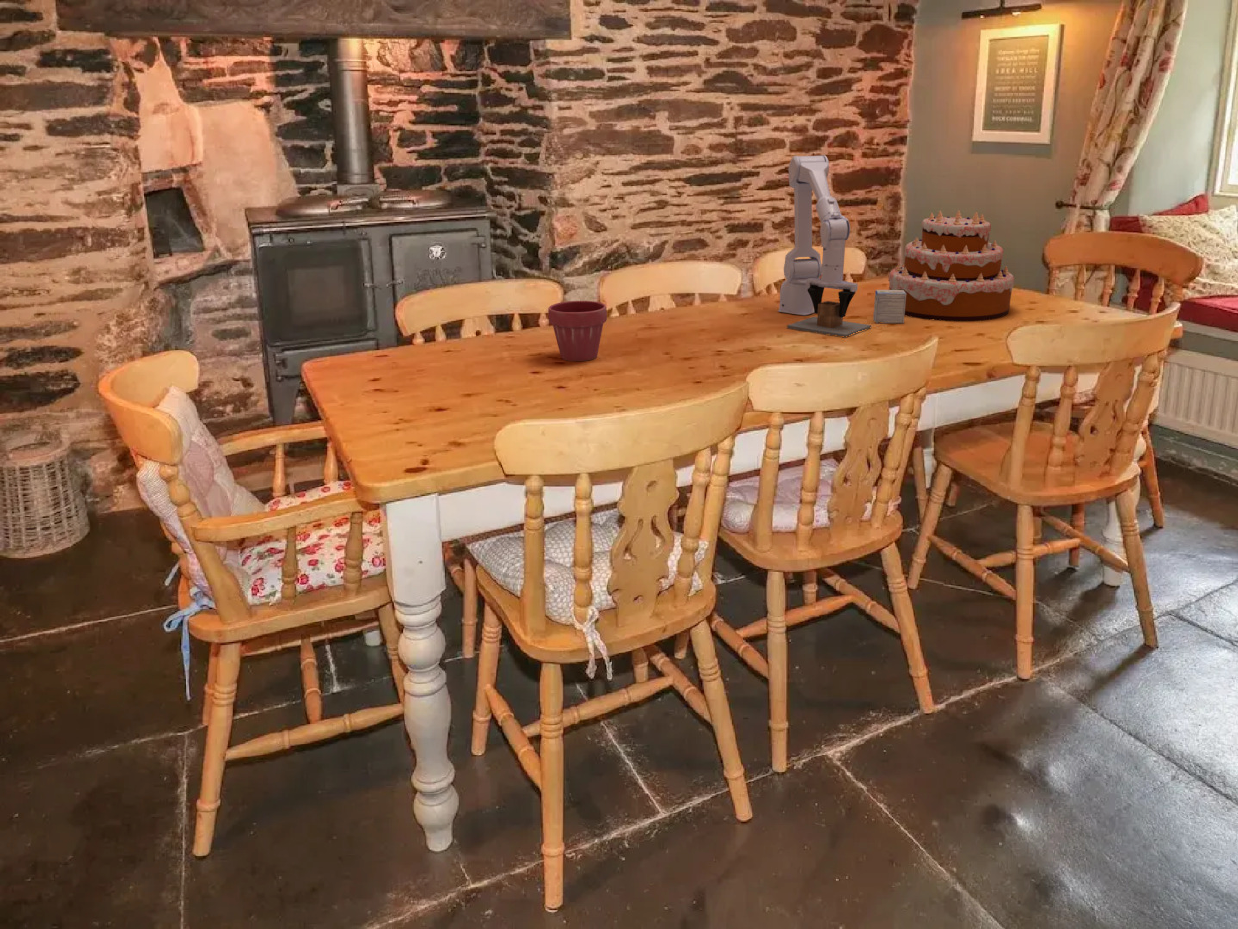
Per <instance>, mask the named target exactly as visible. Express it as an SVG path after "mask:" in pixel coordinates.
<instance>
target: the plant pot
mask: <svg viewBox="0 0 1238 929" xmlns="http://www.w3.org/2000/svg"><path fill="white" fill-rule="evenodd" d="M607 313H608V312H607V305H606V304H604V303H603V302H598V301H595V300H594V301H592V300H569V301H562V302H558V303H555V304H551V305H550V306H549V307H548V310H547V314H548V323H549V324H550V325H552V328H553V331H554V335H555V340H556V343H557V347H558V351H559V355H560V358H561V359H562V360H564V361H569V362H586V361H590V360H591V361H592V360H594V359H596V358H598V353H599V349H600V344H601V343H600V342H601V337H602V332H603V326H604V323H607V316H608V315H607Z"/></svg>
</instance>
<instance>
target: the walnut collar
mask: <svg viewBox="0 0 1238 929" xmlns="http://www.w3.org/2000/svg"><path fill="white" fill-rule="evenodd" d="M839 308H840V302H837V301H831V300H826V301H822V303H819V304H818V314H816V315H817V316H816V317H817V326H823V327H829V328H835V327H838V326H840V325H842V322H843V321H844V320H843V319H844V317H839Z"/></svg>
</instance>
